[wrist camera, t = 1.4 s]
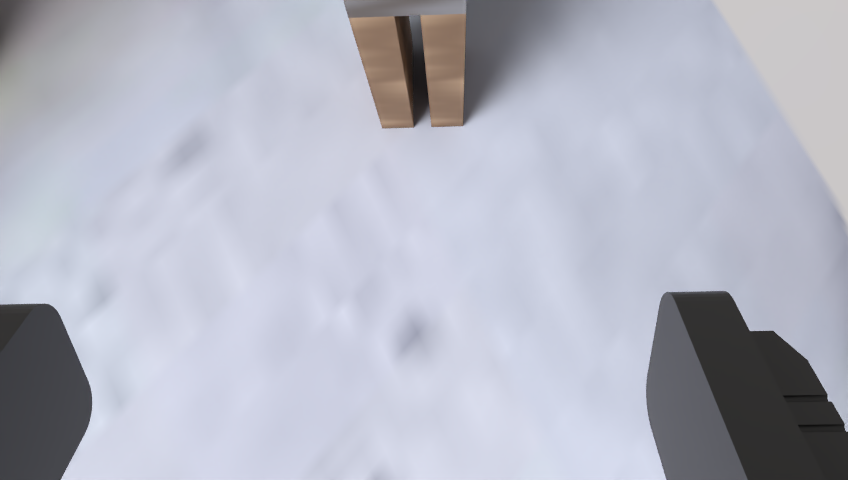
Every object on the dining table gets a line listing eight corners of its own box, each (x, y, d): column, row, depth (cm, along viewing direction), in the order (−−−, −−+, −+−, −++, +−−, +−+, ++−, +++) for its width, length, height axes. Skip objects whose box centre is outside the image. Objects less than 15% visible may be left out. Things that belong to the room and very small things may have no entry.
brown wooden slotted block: (382, 128, 33) (343, 1, 21) (381, 44, 33) (344, -121, 22) (463, 126, 32) (466, -3, 21) (460, 41, 33) (463, -126, 22)
